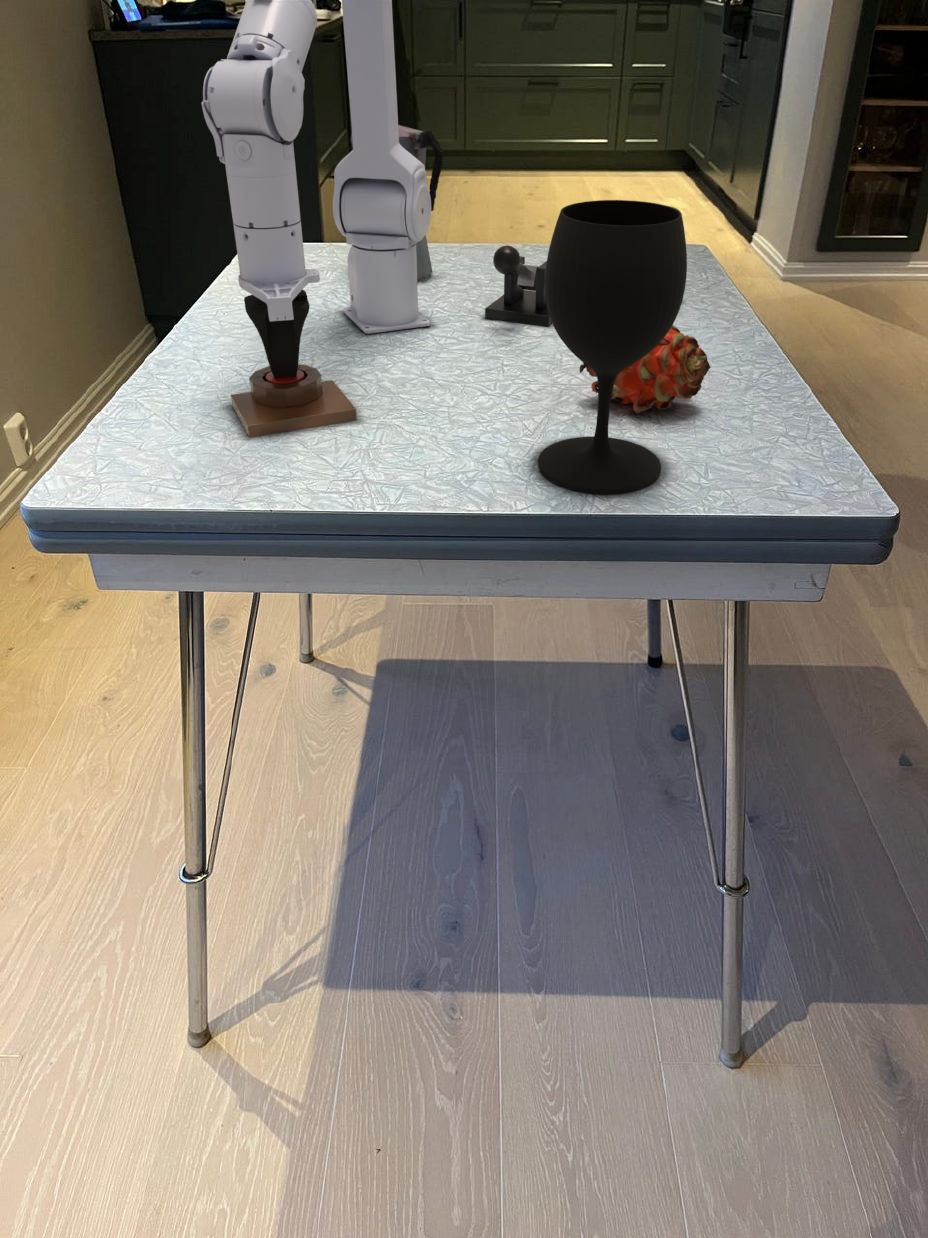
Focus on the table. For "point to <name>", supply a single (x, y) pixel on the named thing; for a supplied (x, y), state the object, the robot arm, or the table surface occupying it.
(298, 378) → the button
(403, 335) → the table surface
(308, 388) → the button block
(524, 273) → the lever
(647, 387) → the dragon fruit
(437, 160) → the moka pot
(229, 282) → the table surface
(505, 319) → the bracket
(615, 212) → the wine glass
